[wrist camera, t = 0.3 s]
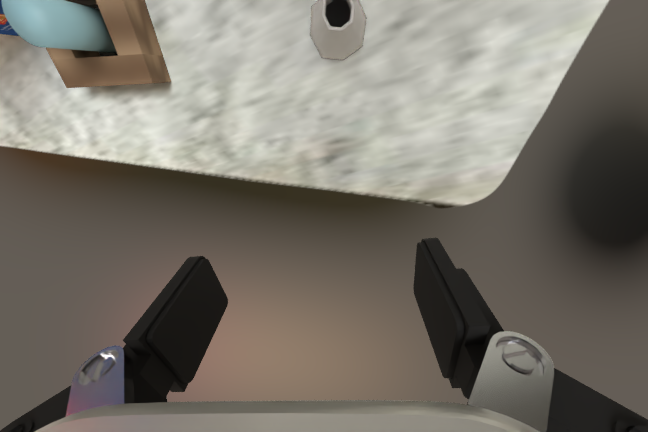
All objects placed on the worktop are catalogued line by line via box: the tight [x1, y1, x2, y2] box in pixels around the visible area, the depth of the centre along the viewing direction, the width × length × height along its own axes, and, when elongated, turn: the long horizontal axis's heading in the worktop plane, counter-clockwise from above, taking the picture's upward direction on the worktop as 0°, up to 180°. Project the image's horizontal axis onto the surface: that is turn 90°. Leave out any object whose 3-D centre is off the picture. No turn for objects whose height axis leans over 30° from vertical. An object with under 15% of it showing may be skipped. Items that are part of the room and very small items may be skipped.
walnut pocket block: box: [46, 0, 171, 88], centre depth 30 cm, size 12×12×4 cm
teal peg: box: [1, 0, 117, 53], centre depth 28 cm, size 4×4×10 cm
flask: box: [310, 0, 366, 60], centre depth 26 cm, size 7×7×10 cm
